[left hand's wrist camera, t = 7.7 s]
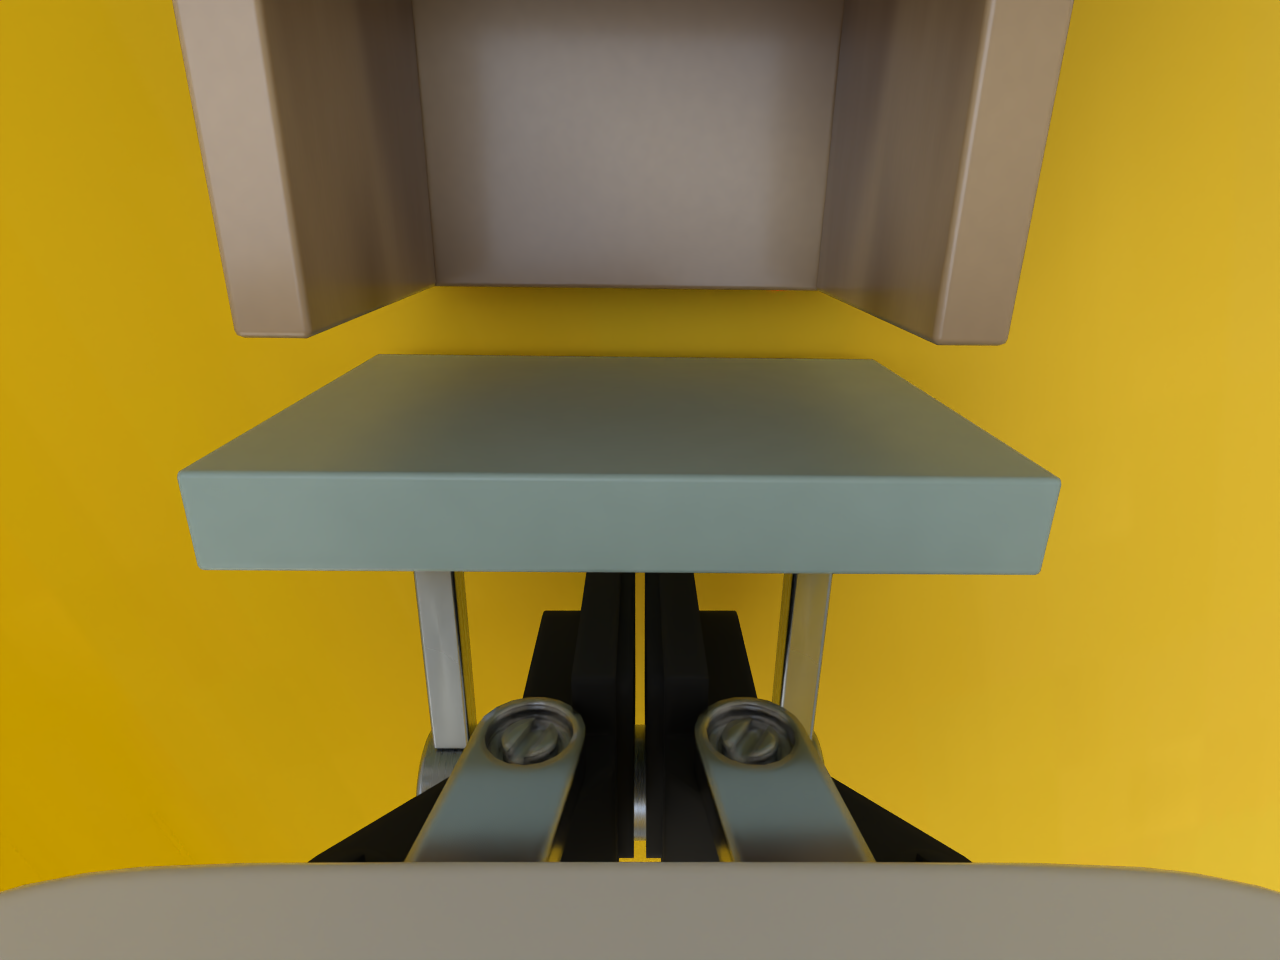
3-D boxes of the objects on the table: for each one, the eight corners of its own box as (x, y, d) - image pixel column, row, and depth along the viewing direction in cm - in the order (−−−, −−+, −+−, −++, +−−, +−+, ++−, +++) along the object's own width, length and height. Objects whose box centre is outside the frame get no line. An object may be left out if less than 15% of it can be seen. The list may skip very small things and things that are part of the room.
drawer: (833, 675, 16) (950, 950, 10) (414, 673, 16) (286, 951, 10) (984, -478, 10) (1575, -1617, 4) (274, -498, 10) (-348, -1718, 3)
